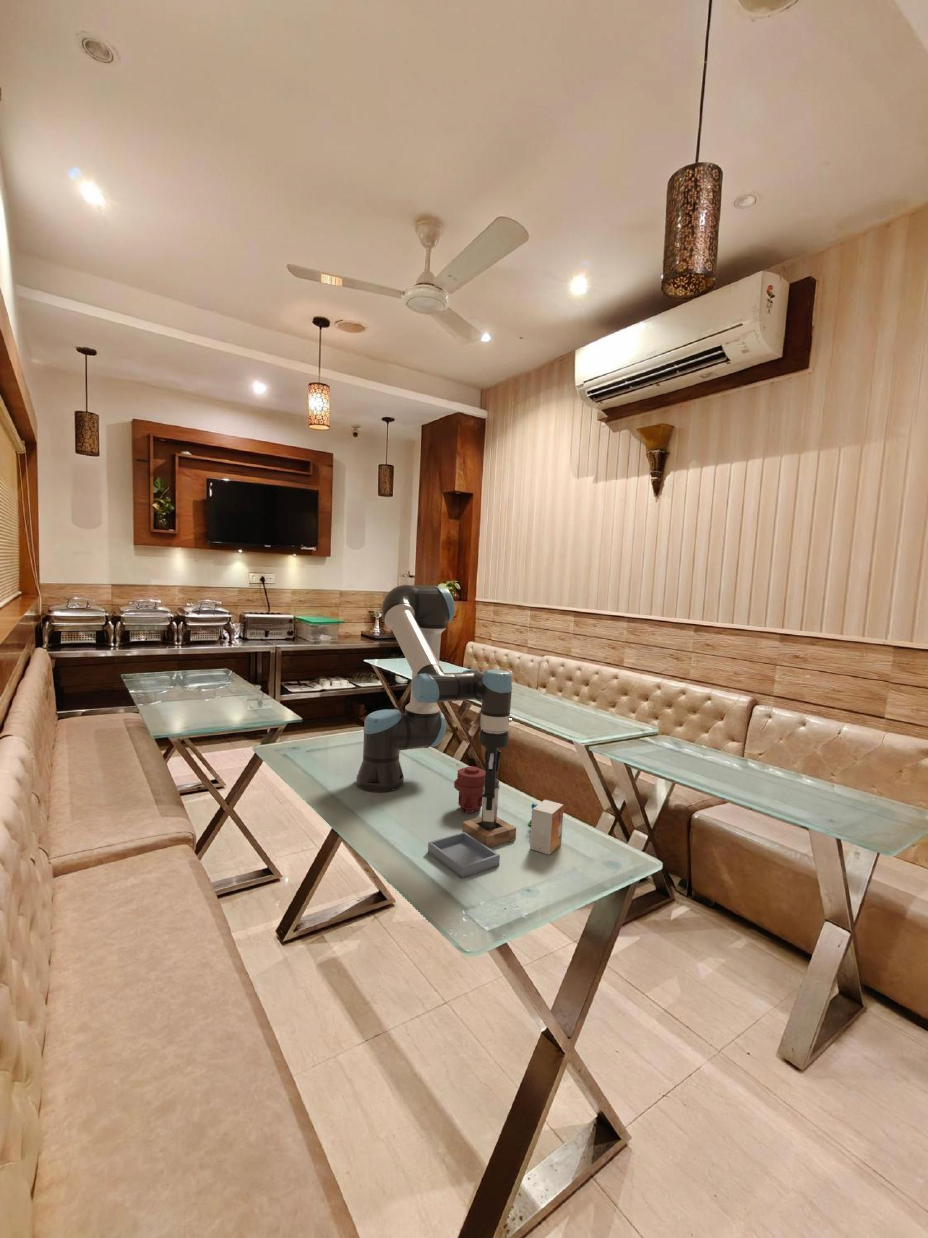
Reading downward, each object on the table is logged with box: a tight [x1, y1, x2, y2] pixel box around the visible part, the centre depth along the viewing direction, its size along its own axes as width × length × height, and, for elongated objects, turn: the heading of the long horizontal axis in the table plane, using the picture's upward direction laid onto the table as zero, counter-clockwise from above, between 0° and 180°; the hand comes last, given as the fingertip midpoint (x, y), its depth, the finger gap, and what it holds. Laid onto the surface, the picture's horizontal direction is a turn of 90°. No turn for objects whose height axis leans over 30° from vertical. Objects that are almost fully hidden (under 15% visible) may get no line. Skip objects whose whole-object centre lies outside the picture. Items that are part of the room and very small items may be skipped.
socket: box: [461, 816, 517, 849], centre depth 144 cm, size 10×10×3 cm
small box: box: [529, 799, 565, 855], centre depth 139 cm, size 8×6×10 cm
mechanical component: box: [453, 766, 486, 815], centre depth 160 cm, size 12×10×10 cm
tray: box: [427, 832, 501, 879], centre depth 131 cm, size 14×11×2 cm
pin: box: [481, 778, 500, 831], centre depth 144 cm, size 4×4×14 cm
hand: (489, 816), depth 144 cm, fingers closed on pin, 4 cm apart
